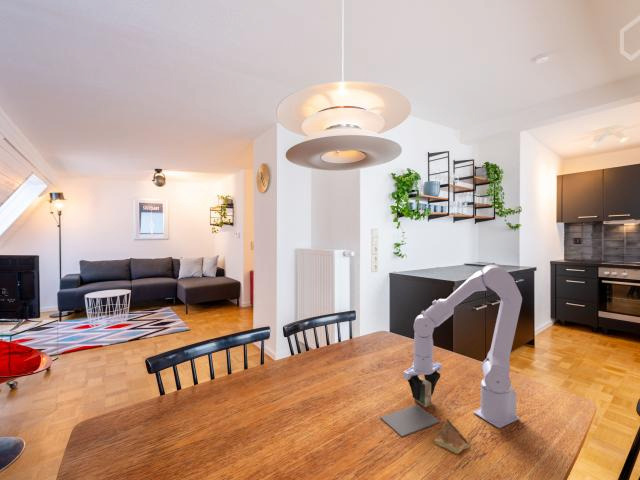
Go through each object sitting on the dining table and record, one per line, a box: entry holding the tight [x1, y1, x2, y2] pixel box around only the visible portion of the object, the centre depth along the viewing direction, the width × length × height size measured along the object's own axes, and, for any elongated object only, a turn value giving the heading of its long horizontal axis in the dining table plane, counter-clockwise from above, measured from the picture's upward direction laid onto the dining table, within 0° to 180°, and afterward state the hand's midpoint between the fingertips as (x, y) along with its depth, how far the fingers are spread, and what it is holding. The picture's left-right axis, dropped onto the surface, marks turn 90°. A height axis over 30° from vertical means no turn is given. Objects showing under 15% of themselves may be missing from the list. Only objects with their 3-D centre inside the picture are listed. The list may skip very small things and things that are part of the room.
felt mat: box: [380, 404, 441, 438], centre depth 87 cm, size 14×9×1 cm, turn 117°
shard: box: [433, 419, 471, 454], centre depth 79 cm, size 11×8×2 cm
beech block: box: [414, 376, 432, 408], centre depth 96 cm, size 2×4×7 cm, turn 27°
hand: (422, 396), depth 96 cm, fingers open, 5 cm apart
